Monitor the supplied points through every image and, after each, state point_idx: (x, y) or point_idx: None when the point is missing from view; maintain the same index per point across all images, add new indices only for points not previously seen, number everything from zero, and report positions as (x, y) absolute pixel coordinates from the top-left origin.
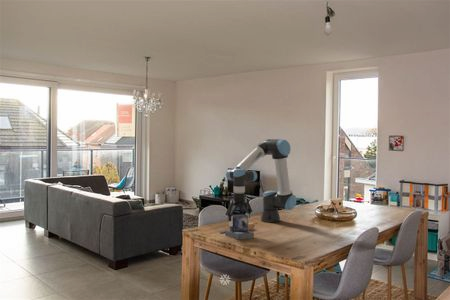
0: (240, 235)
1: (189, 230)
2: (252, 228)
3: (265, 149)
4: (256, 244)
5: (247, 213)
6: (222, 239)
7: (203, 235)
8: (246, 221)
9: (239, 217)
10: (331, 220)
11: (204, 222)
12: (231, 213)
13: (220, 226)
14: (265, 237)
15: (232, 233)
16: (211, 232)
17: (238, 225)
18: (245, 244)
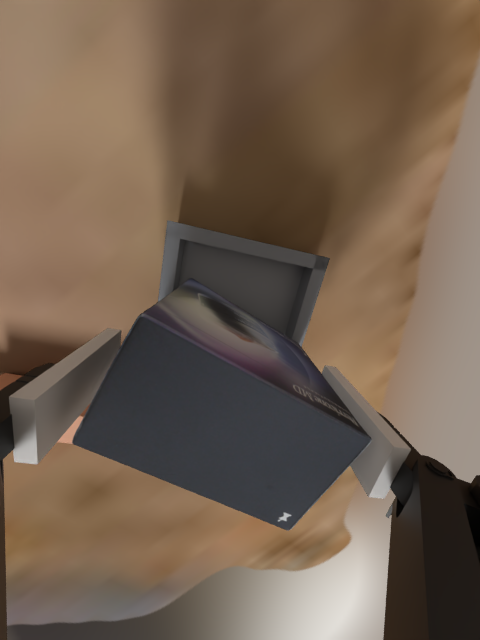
0: (313, 254)
1: (315, 555)
2: (13, 378)
3: None
4: (338, 47)
5: (20, 429)
6: (365, 345)
7: None
8: (189, 302)
9: (285, 383)
10: None
11: (145, 609)
12: (456, 504)
13: (138, 530)
14: (99, 141)
15: (301, 340)
16: None
17: (276, 338)
18: (389, 132)
